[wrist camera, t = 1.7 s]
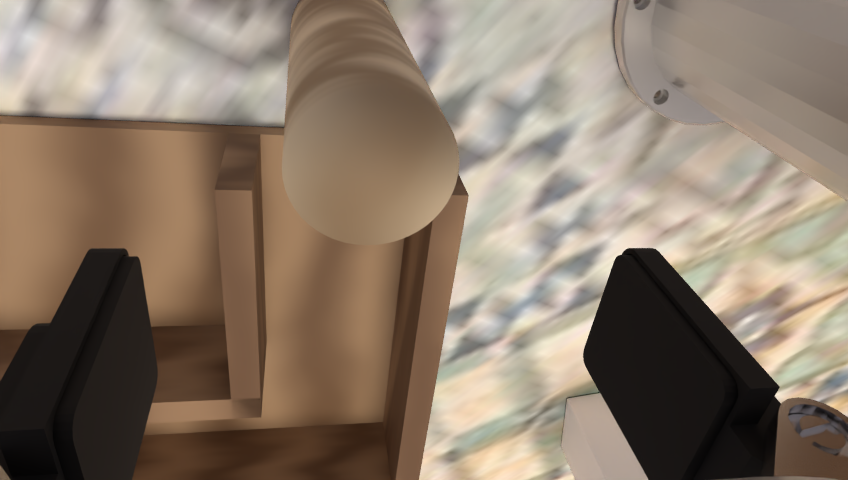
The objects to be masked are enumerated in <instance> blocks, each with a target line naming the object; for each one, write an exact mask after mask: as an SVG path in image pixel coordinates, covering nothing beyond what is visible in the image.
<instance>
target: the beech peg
mask: <svg viewBox="0 0 848 480" xmlns="http://www.w3.org/2000/svg"><path fill="white" fill-rule="evenodd" d="M458 172H459V152H458V147H457V143H456V140H455V137H454V134H453V132H452V130H451V128H450V126H449V124H448V122H447V120H446V119H445V117H444V115H443V113H442V111H441V109H440V107H439V105H438V103H437V101H436V99H435V98H434V96H433V94H432V92H431V90H430V88H429V86H428V84H427V82H426V80H425V79H424V77H423V75H422V73H421V71H420V69H419V67H418V65H417V63H416V61H415V59H414V58H413V56H412V54H411V52H410V50H409V48H408V46H407V44H406V42H405V40H404V38H403V37H402V35H401V33H400V31H399V29H398V27H397V25H396V23H395V21H394V19H393V18H392V16H391V14H390V12H389V10H388V8H387V6H386V4H385V3H384V2H383V0H300V1H299V3H298V4H297V6H296V8H295V10H294V13H293V16H292V21H291V33H290V48H289V64H288V79H287V95H286V111H285V126H284V142H283V157H282V177H283V183H284V187H285V190H286V193H287V195H288V198H289V200H290V202H291V204H292V205H293V207H294V209H295V210H296V211H297V213H298V214H299V215H300V216H301V217H302V218H303V219H304V220H305V221H306V222H307V223H308V224H309V225H310V226H311V227H313V228H314V229H315V230H317V231H318V232H320V233H322V234H324V235H325V236H328V237H330V238H332V239H335V240H338V241H341V242H345V243H350V244H355V245H379V244H386V243H390V242H394V241H398V240H400V239H403V238H406V237H408V236H410V235H412V234H414V233H416V232H418V231H419V230H421V229H422V228H424V227H425V226H426V225H428V224H429V223H430V222H431V221H432V220H433V219H435V217H436V216H437V215H438V214H439V213H440V212H441V211H442V209H443V208H444V207H445V205H446V204H447V202H448V201H449V199H450V197H451V195H452V193H453V190H454V188H455V185H456V182H457V177H458Z"/></svg>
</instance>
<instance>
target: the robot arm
mask: <svg viewBox="0 0 848 480" xmlns="http://www.w3.org/2000/svg"><path fill="white" fill-rule="evenodd" d="M614 27H615V50H616V54H617V59H618V63H619V67H620V70H621V72H622V74H623V76H624V79H625V81H626V83H627V85H628V87H629V88H630V89H631V90H632V91H633V93H634V94H635V95H636V96H637V98H638V99H639V100H640V101H641V102H643V103H644V104H645V105H646V106H648V107H649V108H650V109H651V110H653V111H654V112H656V113H658V114H660V115H661V116H663V117H665V118H667V119H669V120H673V121H676V122H680V123H683V124H693V125H708V124H715V123H722V122H727V123H728V124H730V125H731V126H733V127H734V128H736V129H737V130H739V131H740V132H742V133H744V134H745V135H747V136H748V137H750V138H751V139H753V140H754V141H756V142H757V143H759V144H760V145H762V146H763V147H765V148H767V149H768V150H770V151H771V152H773V153H774V154H776V155H777V156H779V157H780V158H782V159H783V160H785V161H786V162H788V163H790V164H791V165H793V166H794V167H796V168H797V169H799V170H800V171H802V172H803V173H805V174H806V175H808V176H810V177H811V178H813V179H814V180H816V181H817V182H819V183H820V184H822V185H823V186H825V187H826V188H828V189H829V190H831V191H833V192H834V193H836V194H837V195H839V196H840V197H842V198H843V199H845V200H846V201H848V0H636V1H634V0H618V5H617V12H616V19H615V26H614ZM583 358H584V363H585V366H586V368H587V370H588V372H589V374H590V375H591V377H592V379H593V381H594V383H595V384H596V386H597V388H598V390H599V392H600V393H601V395H602V397H603V399H604V401H605V402H606V404H607V406H608V408H609V410H610V411H611V413H612V415H613V417H614V419H615V420H616V422H617V424H618V426H619V428H620V429H621V431H622V433H623V435H624V437H625V438H626V440H627V442H628V444H629V446H630V447H631V449H632V451H633V453H634V455H635V456H636V458H637V460H638V462H639V464H640V465H641V467H642V469H643V471H644V473H645V474H646V476H647V478H648V480H848V417H846V416H845V415H844V414H842V413H841V412H839V411H838V410H836V409H834V408H832V407H830V406H828V405H826V404H824V403H821V402H818V401H815V400H811V399H806V398H791V399H787V400H786V401H784V402H783V403H780V402H779V401H778V400H777V399H776V398H775V394H776V392H777V391H778V389H779V386H778V385H777V383H776V382H775V381H774V380H773V379H772V378H771V377H770V376H769V374H768V373H767V372H766V371H765V370H764V369H763V368H762V367H761V366H760V364H759V363H758V362H757V361H756V360H755V359H754V358H753V357H752V355H751V354H750V353H749V352H748V351H747V350H746V349H745V348H744V347H743V345H742V344H741V343H740V342H739V341H738V340H737V339H736V338H735V336H734V335H733V334H732V333H731V332H730V331H729V330H728V329H727V328H726V326H725V325H724V324H723V323H722V322H721V321H720V320H719V319H718V317H717V316H716V315H715V314H714V313H713V312H712V311H711V310H710V308H709V307H708V306H707V305H706V304H705V303H704V302H703V301H702V300H701V298H700V297H699V296H698V295H697V294H696V293H695V292H694V291H693V289H692V288H691V287H690V286H689V285H688V284H687V283H686V282H685V281H684V279H683V278H682V277H681V276H680V275H679V274H678V273H677V272H676V270H675V269H674V268H673V267H672V266H671V265H670V264H669V263H668V261H667V260H666V259H665V258H664V257H663V256H662V255H661V254H660V253H659V251H657V250H656V249H653V248H629V249H626V250H625V251H624V252H623V253H622V255H619V256H617V257H616V259H615V261H614V264H613V266H612V269H611V272H610V275H609V278H608V281H607V284H606V287H605V290H604V293H603V295H602V298H601V301H600V304H599V307H598V310H597V313H596V316H595V319H594V322H593V325H592V327H591V330H590V333H589V336H588V339H587V342H586V345H585V348H584V353H583ZM157 377H158V368H157V360H156V354H155V348H154V342H153V336H152V330H151V324H150V317H149V311H148V305H147V299H146V293H145V287H144V281H143V274H142V268H141V263H140V259H139V257H137V256H129V254H128V252H127V250H126V249H125V248H91V249H89V250H88V252H87V253H86V255H85V257H84V259H83V261H82V263H81V265H80V267H79V269H78V271H77V273H76V274H75V276H74V278H73V280H72V282H71V284H70V286H69V288H68V290H67V292H66V294H65V296H64V298H63V300H62V302H61V304H60V305H59V307H58V309H57V311H56V313H55V315H54V317H53V319H52V321H51V323H37V324H35V325H33V326H32V327H31V328H30V330H29V331H28V332H27V334H26V336H25V337H24V339H23V341H22V343H21V345H20V346H19V348H18V350H17V352H16V354H15V356H14V357H13V359H12V361H11V363H10V365H9V366H8V368H7V370H6V372H5V374H4V375H3V377H2V379H1V381H0V480H132V478H133V474H134V470H135V466H136V462H137V459H138V455H139V451H140V447H141V443H142V439H143V435H144V432H145V428H146V424H147V420H148V416H149V412H150V409H151V405H152V401H153V397H154V393H155V389H156V385H157Z"/></svg>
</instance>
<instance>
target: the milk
mask: <svg viewBox="0 0 848 480" xmlns="http://www.w3.org/2000/svg"><path fill="white" fill-rule="evenodd" d="M561 448H562V450H563V453H564V455H565V457H566V459H567V462H568V464H569V466H570V469H571V471H572V473H573V476H574V478H575V480H648V478H647V476H646V474H645V473H644V471H643V469H642V467H641V465H640V464H639V462H638V460H637V458H636V456H635V455H634V453H633V451H632V449H631V447H630V446H629V444H628V442H627V440H626V438H625V437H624V435H623V433H622V431H621V429H620V428H619V426H618V424H617V422H616V420H615V419H614V417H613V415H612V413H611V411H610V410H609V408H608V406H607V404H606V402H605V401H604V399H603V397H602V395H601V393H597V394H591V395H585V396H579V397H573V398H568V399H567V403H566V411H565V419H564V426H563V434H562V442H561Z"/></svg>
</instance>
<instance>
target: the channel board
mask: <svg viewBox="0 0 848 480" xmlns="http://www.w3.org/2000/svg"><path fill="white" fill-rule="evenodd" d="M283 142H284V128H277V127H254V126H231V125H208V124H185V123H162V122H139V121H116V120H93V119H70V118H47V117H24V116H1V115H0V381H1V379H2V377H3V375H4V374H5V372H6V370H7V368H8V366H9V365H10V363H11V361H12V359H13V357H14V356H15V354H16V352H17V350H18V348H19V346H20V345H21V343H22V341H23V339H24V337H25V336H26V334H27V332H28V331H29V330H30V328H31V327H32V326H33V325H35V324H37V323H51V321H52V319H53V317H54V315H55V313H56V311H57V309H58V307H59V305H60V304H61V302H62V300H63V298H64V296H65V294H66V292H67V290H68V288H69V286H70V284H71V282H72V280H73V278H74V276H75V274H76V273H77V271H78V269H79V267H80V265H81V263H82V261H83V259H84V257H85V255H86V253H87V252H88V250H89V249H91V248H125V249H126V250H127V252H128V254H129V256H137V257H139V259H140V263H141V268H142V274H143V281H144V287H145V293H146V299H147V305H148V311H149V317H150V324H151V330H152V336H153V342H154V348H155V354H156V360H157V368H158V377H157V385H156V389H155V393H154V397H153V401H152V405H151V409H150V412H149V416H148V420H147V424H146V428H145V432H144V435H143V439H142V443H141V447H140V451H139V455H138V459H137V462H136V466H135V470H134V474H133V478H132V480H419V475H420V470H421V464H422V458H423V452H424V447H425V441H426V435H427V430H428V424H429V418H430V413H431V407H432V401H433V395H434V390H435V384H436V378H437V373H438V367H439V361H440V356H441V350H442V344H443V338H444V333H445V327H446V321H447V316H448V310H449V304H450V299H451V293H452V287H453V281H454V276H455V270H456V264H457V259H458V253H459V247H460V242H461V236H462V230H463V225H464V219H465V213H466V207H467V202H468V196H469V195H468V193H467V191H466V189H465V187H464V185H463V183H462V181H461V179H460V176H459V174H458V177H457V182H456V185H455V188H454V190H453V193H452V195H451V197H450V199H449V201H448V202H447V204H446V205H445V207H444V208H443V209H442V211H441V212H440V213H439V214H438V215H437V216H436V217H435V219H433V220H432V221H431V222H430V223H429V224H428V225H426V226H425V227H424V228H422V229H421V230H419V231H418V232H416V233H414V234H412V235H410V236H408V237H406V238H403V239H400V240H398V241H394V242H390V243H386V244H379V245H355V244H350V243H345V242H341V241H338V240H335V239H332V238H330V237H328V236H325V235H324V234H322V233H320V232H318V231H317V230H315V229H314V228H313V227H311V226H310V225H309V224H308V223H307V222H306V221H305V220H304V219H303V218H302V217H301V216H300V215H299V214H298V213H297V211H296V210H295V209H294V207H293V205H292V204H291V202H290V200H289V198H288V195H287V193H286V190H285V187H284V183H283V177H282V157H283Z"/></svg>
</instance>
